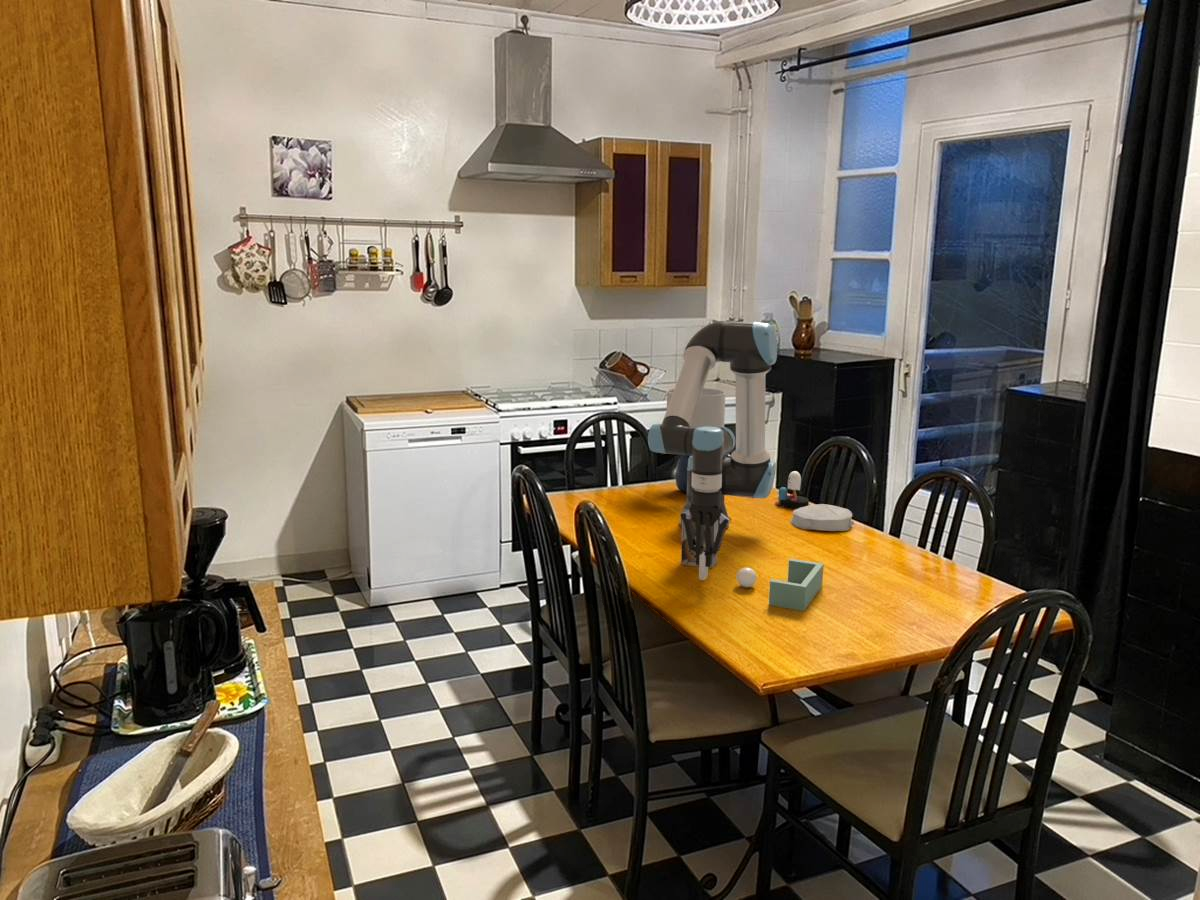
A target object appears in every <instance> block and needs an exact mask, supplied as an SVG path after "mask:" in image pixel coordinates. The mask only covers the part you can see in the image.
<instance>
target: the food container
mask: <svg viewBox="0 0 1200 900" xmlns="http://www.w3.org/2000/svg"><path fill="white" fill-rule="evenodd" d="M852 517H853V512H852V511H851V510H849V509H848V508H844V507H842V506H841V507H840V506H838V505H832V504H825V503H818V504H809V505H808V506H805V507H800V508H798V509H793V511H792V519H790V520H789V522H790V524H792V525H793V526H794V527H796V528H800V529H802V530H805V531H806V530H814V531H815V530H816V531H822V532H823V531H824V532H825V531H827V532H838V531H839V532H845V531H846V532H847V531H849V530H851V528H853V527H855V521H853V520H852V519H853V518H852Z"/></svg>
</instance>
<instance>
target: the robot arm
mask: <svg viewBox="0 0 1200 900" xmlns="http://www.w3.org/2000/svg"><path fill="white" fill-rule="evenodd" d="M777 341H778V340H777V334H776V332H775V328H774V326H772V325H771V324H770V323H767V322H758V321H727V320H717V321H714V322H711V323H709V324H707V325H705V326H703V327H702V328H701V329H699V330H697V332H696V333H695V334H694V335H693V336H692V337H691V338H690V340H689V342H687V344H686V346H685V348H684V351H683V354H682V359H683V364H682V366H681V370H680V373H679V376H678V378H677V381H676V383H675V386H674V388H673V389H674V392H673V394H672V397H671V400H670V403H669V405H668V408H667V407H666V411H665V415H664V418H663V420H662V422H661V423H658V424H657V423H656V424H655V423H654V424H652V425H651V426H650V428H649V430H648V434H647V443H648V448H649V450H650V451H652V452H653V453H659V454H665V455H666V454H669V455H681V456H682V455H689V456H690V457H689V459H688V468H687V493H686V500H685V504H684V506H685V505H686V504H687V503H688V502H689V503H691V506H690V508H689V510H688V511H685V512H683V513H682V512H681V514H679V515H680V522H679V523H680V526H681V527H682V520H683V522H684V525H685V530H686V535H687V540H688V545H689V549H690V550H691V551H692V550H693V551H694V552H696V565H699V566H698V580H702V581H704V580H706V579H707V578H708V577H709V567H710V566H711V565H712V554H716V553H717V552H719V551H721V546H722V544H723V540H724V537H725V534H726V533H725V532H726V530H727V529H729V528H730V522H731V520H732V519H731V517H730V516H729V514H728V511H727V507H726V504H725V496H731V497H741V498H747V499H753V500H755V499H767V498H768V497H769V496H770V494H771V491H772V488H773V486H774V481H775V476H776V471H777V464H776V463H777V462H776V461H773V460H771V453H770V452H769V451H768V450H766V374H768V373H769V372H770V371H771V370H772V365H774V364H776V361H777V357H778V342H777ZM718 362H719V363H720V362H722V363H729V370H730V371H731V372H732V373H733V374H734V376H735V434H734V432H733V431H732V430H731V429H729V428H728V427H726V426H724V427H708V426H706V427H698V428H697V427H690V426H691V423H692V420H693V417H694V414H695V411H696V408H697V405H698V403H699V400H700V397H701V394H702V391H703V388H705V384H706V382H707V379H708V376H709V372H710V371H711V370H713V368H714V367H715V366H716V364H717V363H718ZM734 448H735V450H733V449H734ZM732 451H733V452H732ZM730 453H731V454H730ZM728 455H730V457H728ZM691 515H692V516H691ZM691 517H693V518H694V520H695V521H696V539H695V534H694V529H693V524H692V520H691ZM718 519H719V524H718V532H717V536H716V539H715V543H714V546H713V534H714V523H715V522H716V521H717V520H718ZM704 526H705V529H706V546H705V552H703V550H704V549H703V544H704Z"/></svg>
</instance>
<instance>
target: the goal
mask: <svg viewBox="0 0 1200 900" xmlns="http://www.w3.org/2000/svg"><path fill="white" fill-rule="evenodd" d="M787 570H788V571H787V581H785V580H778V579H772V578H771V580H770V581H769V593H768V594H769V598H768V606H771V607H772V606H773V607H777V608H783V609H789V610H795V611H801V612H805V610H806V609H807V608H808V606H809V605H811V602H812V601H813V600H814V599H815V597H816V595H817V594H818V593H819V591H820V590H821V589H822V587H823V579H824V563H821V562H815V561H807V560H802V559H801V560H800V559H795V558H790V559H789V560H788V569H787Z"/></svg>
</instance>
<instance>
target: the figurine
mask: <svg viewBox="0 0 1200 900" xmlns="http://www.w3.org/2000/svg"><path fill="white" fill-rule="evenodd" d="M801 483H802V477H801V474H800V473H799V472H798V471H796V470H794V471H791V472H790V473H789V475H788V476H787V488H786V487H784V486H782V487H780V488H779V489H778V496H777V499H778V501H775V502H774V504H775V505H777V506H780V507H782V508H785V509H790V510H796V509H798V508H800V507H805V506H810V503H809V502H810V501H809V498H807V497H805V496H801V495H797V494H798V493H797V491H800V490H801ZM788 490H792V494H790V495H788Z"/></svg>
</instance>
